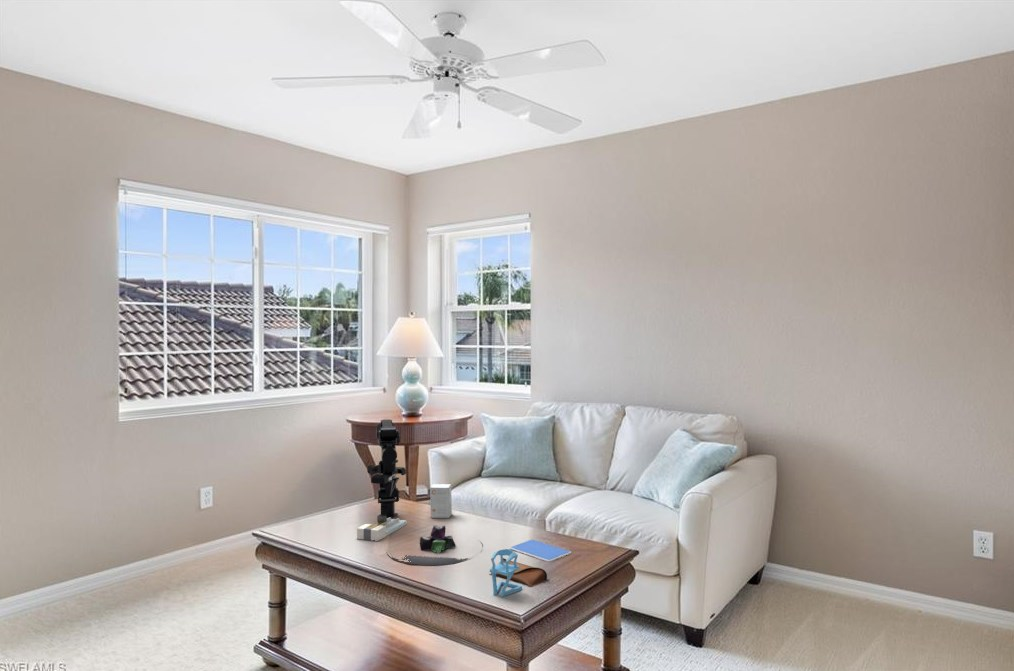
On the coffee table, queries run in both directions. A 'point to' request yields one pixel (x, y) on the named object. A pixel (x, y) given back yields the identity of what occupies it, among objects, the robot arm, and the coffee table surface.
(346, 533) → the coffee table surface
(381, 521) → the bolt
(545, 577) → the sunglasses case
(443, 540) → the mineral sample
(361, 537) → the door and jamb
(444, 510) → the small box
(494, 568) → the chair
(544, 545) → the tablet computer
